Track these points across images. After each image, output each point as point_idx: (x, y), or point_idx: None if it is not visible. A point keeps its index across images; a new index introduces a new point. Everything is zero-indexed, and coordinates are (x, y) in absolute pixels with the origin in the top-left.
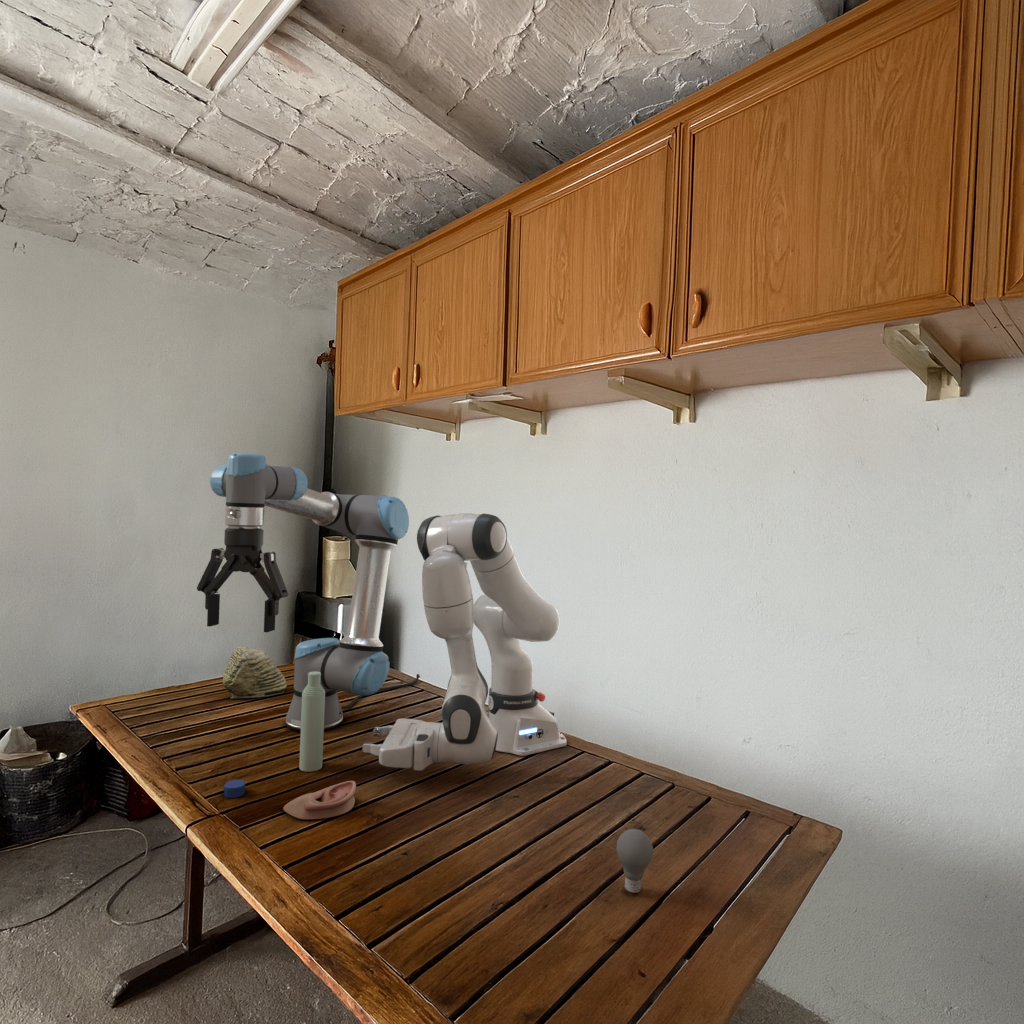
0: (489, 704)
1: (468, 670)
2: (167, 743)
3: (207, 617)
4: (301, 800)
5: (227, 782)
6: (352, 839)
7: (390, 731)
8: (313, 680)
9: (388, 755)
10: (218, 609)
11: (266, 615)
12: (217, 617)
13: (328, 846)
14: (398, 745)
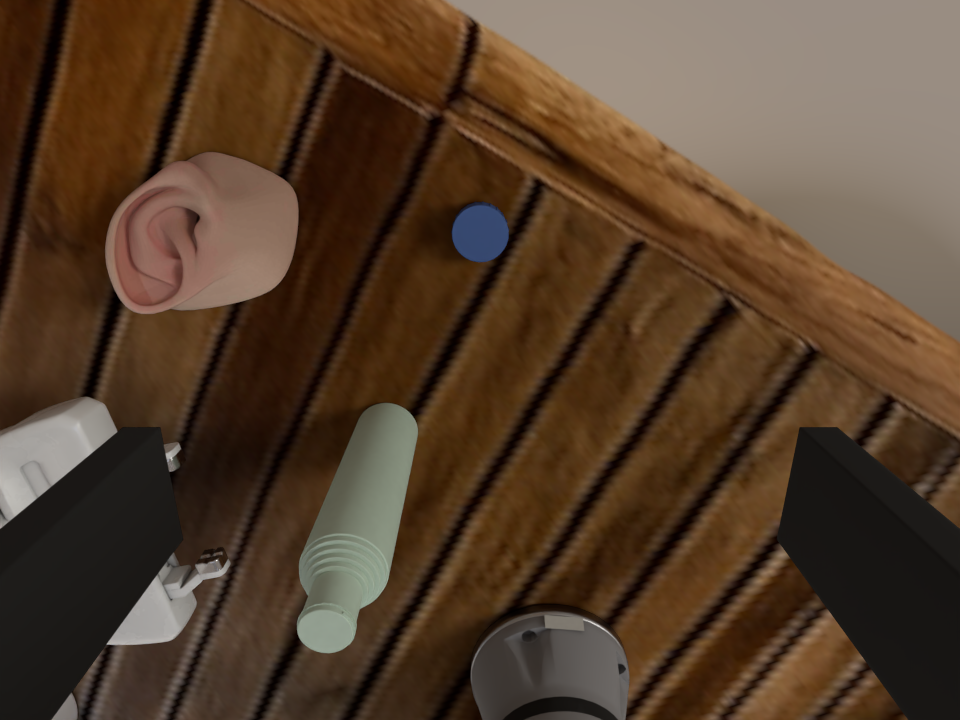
0: None
1: None
2: (863, 436)
3: (893, 475)
4: (234, 201)
5: (505, 234)
6: (25, 107)
7: None
8: (318, 593)
9: (52, 412)
10: (869, 647)
11: (10, 534)
12: (818, 567)
13: (56, 51)
14: (37, 459)
